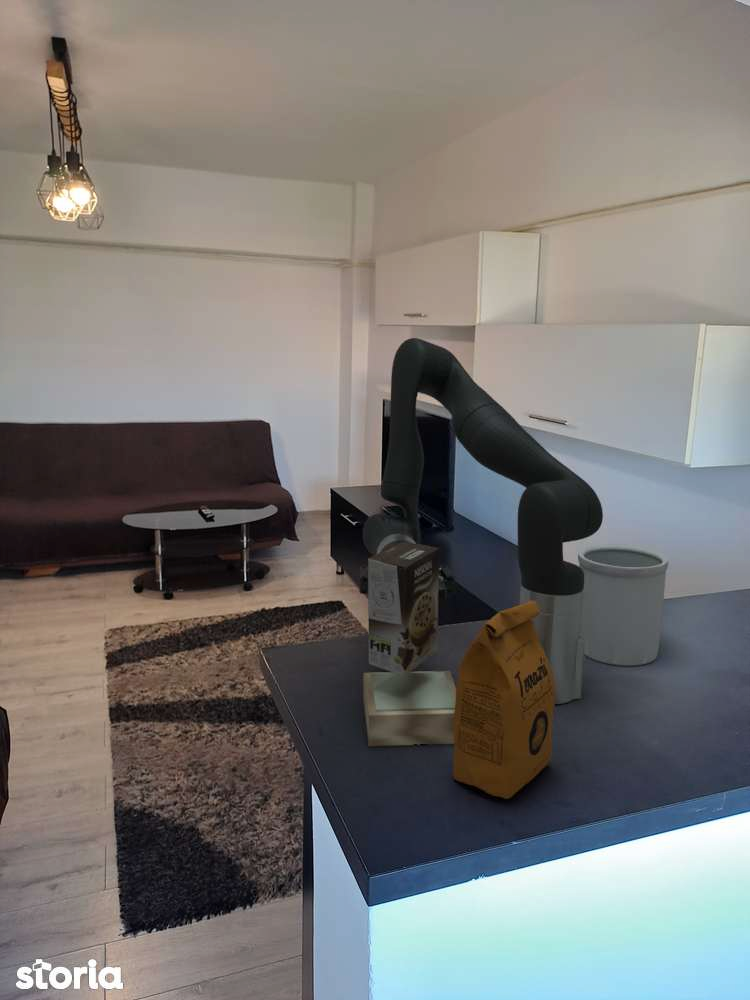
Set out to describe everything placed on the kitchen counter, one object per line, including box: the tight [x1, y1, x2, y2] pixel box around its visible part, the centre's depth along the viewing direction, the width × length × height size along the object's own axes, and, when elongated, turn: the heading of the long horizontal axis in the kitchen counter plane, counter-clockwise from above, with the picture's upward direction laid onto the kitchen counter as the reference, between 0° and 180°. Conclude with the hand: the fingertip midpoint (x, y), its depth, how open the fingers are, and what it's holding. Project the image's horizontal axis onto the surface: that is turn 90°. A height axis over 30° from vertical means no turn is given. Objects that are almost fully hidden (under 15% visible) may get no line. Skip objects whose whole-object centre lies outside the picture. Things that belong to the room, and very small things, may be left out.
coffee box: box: [367, 541, 440, 676], centre depth 105 cm, size 9×6×16 cm
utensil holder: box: [577, 544, 669, 667], centre depth 131 cm, size 15×15×18 cm
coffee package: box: [452, 601, 556, 800], centre depth 92 cm, size 10×12×22 cm
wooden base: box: [362, 670, 457, 747], centre depth 107 cm, size 13×13×5 cm
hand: (410, 596), depth 107 cm, fingers closed on coffee box, 8 cm apart
